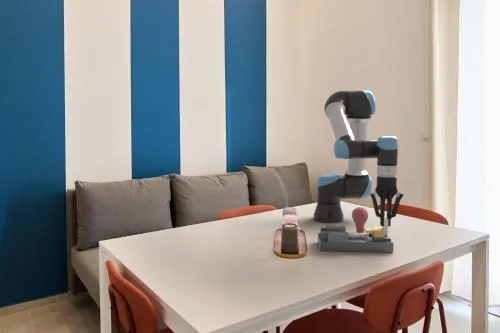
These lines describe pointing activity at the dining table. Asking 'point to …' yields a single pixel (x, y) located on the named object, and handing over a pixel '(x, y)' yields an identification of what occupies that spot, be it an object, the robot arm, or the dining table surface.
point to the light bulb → (360, 218)
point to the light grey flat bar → (358, 235)
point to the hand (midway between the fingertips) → (385, 234)
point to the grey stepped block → (351, 241)
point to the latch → (376, 232)
